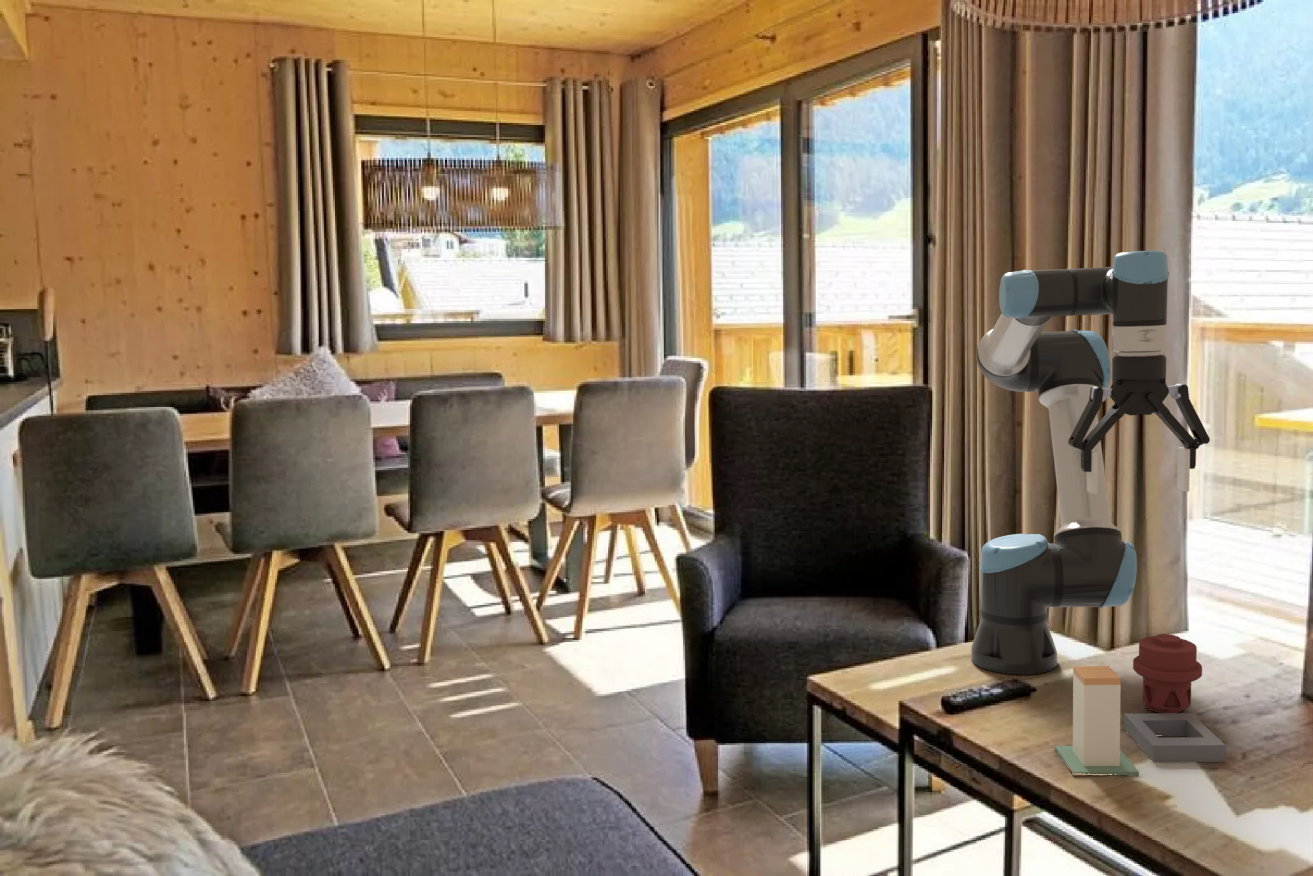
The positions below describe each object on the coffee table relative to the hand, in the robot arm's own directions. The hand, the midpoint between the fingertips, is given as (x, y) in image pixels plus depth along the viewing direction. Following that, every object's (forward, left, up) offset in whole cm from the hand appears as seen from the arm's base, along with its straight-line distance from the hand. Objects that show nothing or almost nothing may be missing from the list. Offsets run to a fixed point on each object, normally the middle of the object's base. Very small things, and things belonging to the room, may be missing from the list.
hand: (1137, 491), depth 166 cm
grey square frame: (+10, +2, -37) cm, 38 cm away
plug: (+16, -11, -36) cm, 41 cm away
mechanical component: (-3, +6, -37) cm, 38 cm away
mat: (+16, -11, -37) cm, 42 cm away
